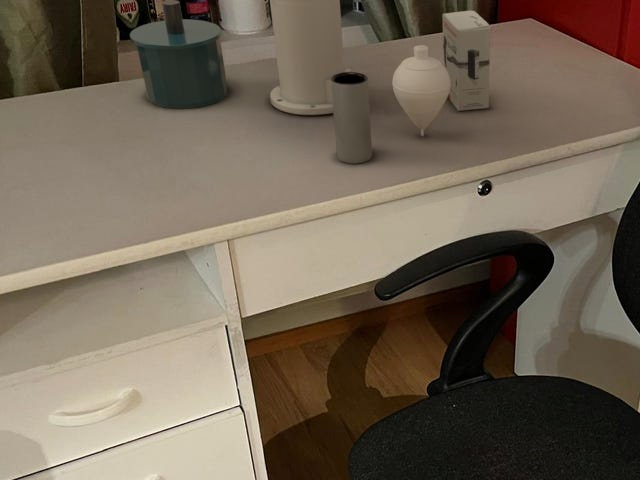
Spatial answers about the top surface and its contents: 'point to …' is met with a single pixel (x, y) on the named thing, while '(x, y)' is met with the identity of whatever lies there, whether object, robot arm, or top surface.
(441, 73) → the spinning top
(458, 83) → the ink box
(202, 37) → the lid
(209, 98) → the pot
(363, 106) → the gray cylinder
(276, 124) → the top surface
